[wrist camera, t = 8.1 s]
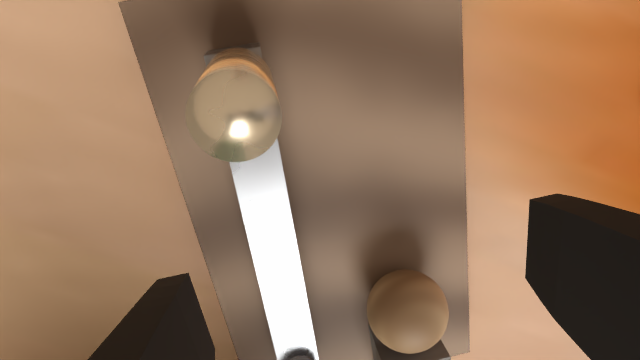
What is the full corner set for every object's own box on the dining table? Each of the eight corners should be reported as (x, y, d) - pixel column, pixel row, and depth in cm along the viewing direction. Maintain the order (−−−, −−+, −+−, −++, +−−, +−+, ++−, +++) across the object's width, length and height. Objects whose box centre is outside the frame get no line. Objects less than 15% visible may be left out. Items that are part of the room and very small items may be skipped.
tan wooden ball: (412, 241, 20) (444, 289, 17) (440, 292, 21) (475, 345, 18) (345, 278, 20) (363, 333, 17) (378, 326, 22) (401, 385, 18)
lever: (323, 362, 22) (349, 492, 16) (280, 372, 22) (292, 507, 16) (263, 37, 15) (273, 61, 9) (202, 47, 15) (173, 78, 9)
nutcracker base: (459, 336, 24) (498, 399, 21) (254, 387, 24) (255, 463, 20) (445, -56, 16) (506, -72, 12) (127, 2, 15) (87, 3, 11)
